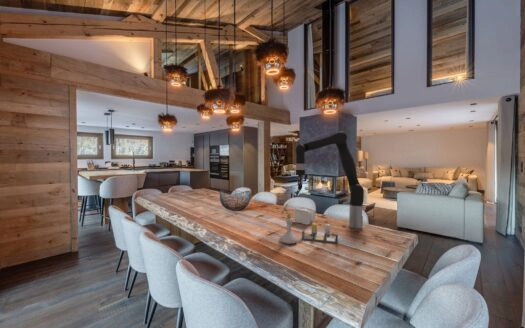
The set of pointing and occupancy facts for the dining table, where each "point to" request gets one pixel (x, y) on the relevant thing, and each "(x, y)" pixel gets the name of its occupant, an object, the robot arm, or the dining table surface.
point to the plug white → (327, 229)
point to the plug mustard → (314, 228)
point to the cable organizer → (304, 215)
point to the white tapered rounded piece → (288, 231)
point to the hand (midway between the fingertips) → (300, 189)
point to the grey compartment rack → (319, 238)
